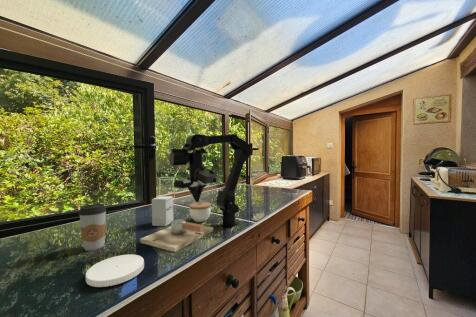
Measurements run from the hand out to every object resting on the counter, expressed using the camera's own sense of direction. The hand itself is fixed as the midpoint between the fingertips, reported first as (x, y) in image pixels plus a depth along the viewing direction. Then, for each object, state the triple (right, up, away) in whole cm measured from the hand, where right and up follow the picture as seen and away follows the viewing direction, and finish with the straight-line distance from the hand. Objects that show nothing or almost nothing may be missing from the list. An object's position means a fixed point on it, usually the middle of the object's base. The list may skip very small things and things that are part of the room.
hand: (197, 201), depth 90 cm
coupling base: (-7, -13, -4) cm, 15 cm away
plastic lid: (-17, -15, -30) cm, 37 cm away
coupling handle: (-3, -11, -6) cm, 13 cm away
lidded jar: (-2, -13, +18) cm, 22 cm away
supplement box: (-19, -13, +13) cm, 27 cm away
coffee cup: (-35, -14, -12) cm, 40 cm away
